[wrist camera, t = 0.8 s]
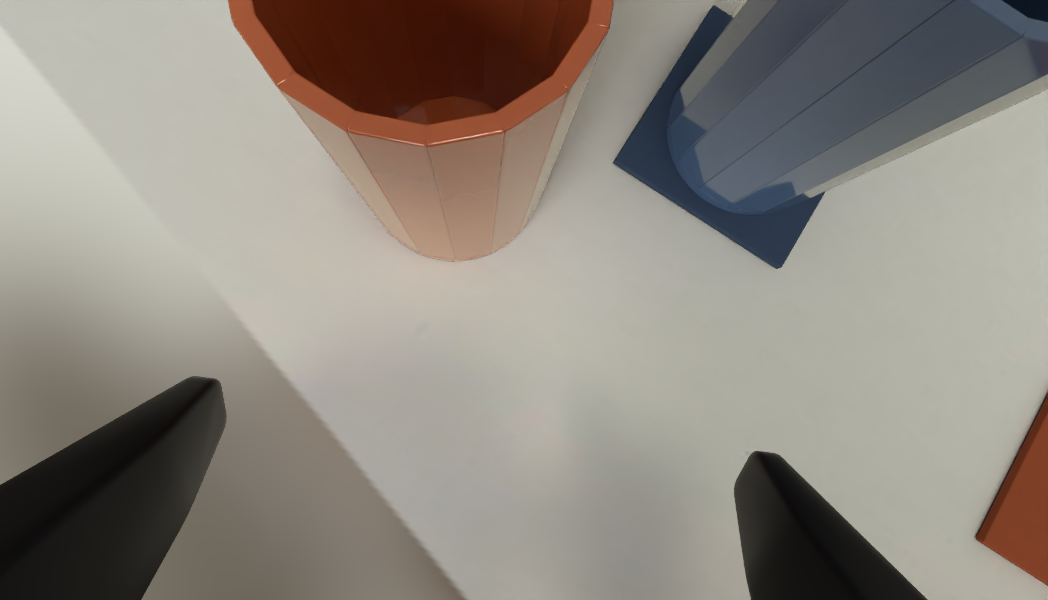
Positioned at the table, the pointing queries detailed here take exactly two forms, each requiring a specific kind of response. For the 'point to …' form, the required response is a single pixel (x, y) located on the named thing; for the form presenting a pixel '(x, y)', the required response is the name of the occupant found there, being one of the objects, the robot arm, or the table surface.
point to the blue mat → (657, 170)
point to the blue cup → (844, 90)
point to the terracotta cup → (434, 103)
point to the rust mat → (1023, 506)
